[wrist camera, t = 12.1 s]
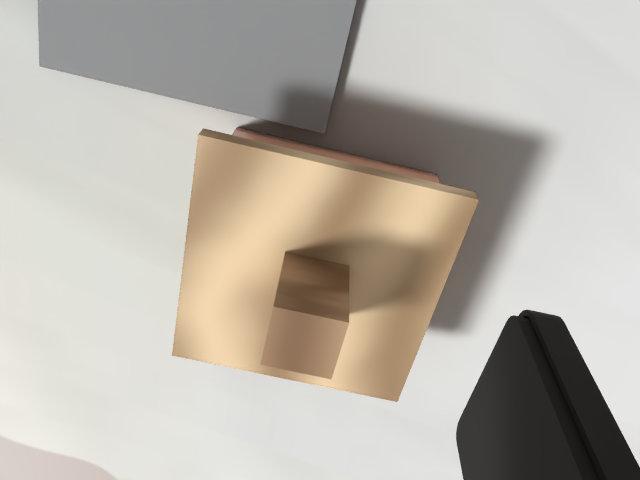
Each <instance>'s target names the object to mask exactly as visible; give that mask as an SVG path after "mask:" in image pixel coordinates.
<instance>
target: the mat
mask: <svg viewBox="0 0 640 480" xmlns="http://www.w3.org/2000/svg"><path fill="white" fill-rule="evenodd" d="M356 1H357V0H38V26H39V64H40V67H45V68H49V69H53V70H57V71H61V72H66V73H70V74H74V75H78V76H83V77H87V78H91V79H95V80H99V81H104V82H108V83H112V84H116V85H120V86H125V87H129V88H133V89H137V90H142V91H146V92H150V93H154V94H158V95H163V96H167V97H171V98H175V99H179V100H184V101H188V102H192V103H196V104H200V105H205V106H209V107H213V108H217V109H222V110H226V111H230V112H234V113H238V114H243V115H247V116H251V117H255V118H259V119H264V120H268V121H272V122H276V123H281V124H285V125H289V126H293V127H297V128H302V129H306V130H310V131H314V132H318V133H323V134H325V131H326V127H327V122H328V118H329V114H330V110H331V106H332V101H333V97H334V93H335V89H336V85H337V80H338V76H339V72H340V68H341V64H342V60H343V55H344V51H345V47H346V43H347V39H348V34H349V30H350V26H351V22H352V18H353V13H354V9H355V5H356Z"/></svg>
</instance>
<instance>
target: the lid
mask: <svg viewBox="0 0 640 480" xmlns="http://www.w3.org/2000/svg"><path fill="white" fill-rule="evenodd" d="M478 202H479V198H478V197H477V195H476V193H475V192H474V191H469V190H465V189H461V188H456V187H452V186H448V185H443V184H439V183H435V182H431V181H426V180H422V179H418V178H413V177H409V176H405V175H401V174H396V173H392V172H388V171H383V170H379V169H375V168H371V167H366V166H362V165H358V164H353V163H349V162H345V161H340V160H336V159H332V158H328V157H323V156H319V155H315V154H310V153H306V152H302V151H298V150H293V149H289V148H285V147H280V146H276V145H272V144H268V143H263V142H259V141H255V140H250V139H246V138H242V137H237V136H233V135H229V134H225V133H220V132H216V131H212V130H207V129H203V130H202V131H201V132H200V133H199V135H198V142H197V150H196V159H195V167H194V176H193V184H192V192H191V201H190V209H189V218H188V226H187V235H186V243H185V251H184V260H183V268H182V277H181V285H180V293H179V302H178V310H177V319H176V327H175V335H174V344H173V352H172V356H177V357H182V358H187V359H192V360H197V361H202V362H206V363H211V364H216V365H221V366H226V367H231V368H235V369H240V370H245V371H250V372H255V373H260V374H265V375H269V376H274V377H279V378H284V379H289V380H294V381H299V382H303V383H308V384H313V385H318V386H323V387H328V388H333V389H337V390H342V391H347V392H352V393H357V394H362V395H367V396H371V397H376V398H381V399H386V400H391V401H396V402H397V401H398V399H399V396H400V394H401V391H402V389H403V387H404V384H405V382H406V379H407V377H408V374H409V372H410V369H411V367H412V364H413V362H414V359H415V357H416V354H417V352H418V350H419V347H420V345H421V342H422V340H423V337H424V335H425V332H426V330H427V327H428V325H429V322H430V320H431V318H432V315H433V313H434V310H435V308H436V305H437V303H438V300H439V298H440V295H441V293H442V290H443V288H444V285H445V283H446V281H447V278H448V276H449V273H450V271H451V268H452V266H453V263H454V261H455V258H456V256H457V253H458V251H459V248H460V246H461V244H462V241H463V239H464V236H465V234H466V231H467V229H468V226H469V224H470V221H471V219H472V216H473V214H474V212H475V209H476V207H477V204H478Z"/></svg>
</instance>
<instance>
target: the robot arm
mask: <svg viewBox="0 0 640 480" xmlns="http://www.w3.org/2000/svg"><path fill="white" fill-rule="evenodd" d="M456 440H457V447H458V452H459V457H460V463H461V468H462V473H463V479H464V480H640V467H639V465H638V463H637V461H636V459H635V458H634V456H633V454H632V452H631V450H630V448H629V446H628V444H627V442H626V440H625V438H624V436H623V434H622V433H621V431H620V429H619V427H618V425H617V423H616V421H615V419H614V417H613V415H612V413H611V411H610V409H609V408H608V406H607V404H606V402H605V400H604V398H603V396H602V394H601V392H600V390H599V388H598V386H597V384H596V383H595V381H594V379H593V377H592V375H591V373H590V371H589V369H588V367H587V365H586V363H585V361H584V359H583V358H582V356H581V354H580V352H579V350H578V348H577V346H576V344H575V342H574V340H573V338H572V336H571V334H570V333H569V331H568V329H567V327H566V325H565V323H564V321H563V320H562V319H561V317H558V316H555V315H550V314H545V313H541V312H536V311H531V310H524V311H522V312H521V313H520V314H519V316H511V317H510V318H509V319H508V320H507V322H506V324H505V326H504V328H503V330H502V332H501V334H500V337H499V339H498V341H497V343H496V345H495V347H494V349H493V351H492V353H491V355H490V357H489V359H488V361H487V363H486V366H485V368H484V370H483V372H482V374H481V376H480V378H479V380H478V382H477V384H476V386H475V388H474V390H473V393H472V395H471V397H470V399H469V401H468V403H467V405H466V407H465V409H464V411H463V413H462V415H461V417H460V420H459V422H458V426H457V432H456Z"/></svg>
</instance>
